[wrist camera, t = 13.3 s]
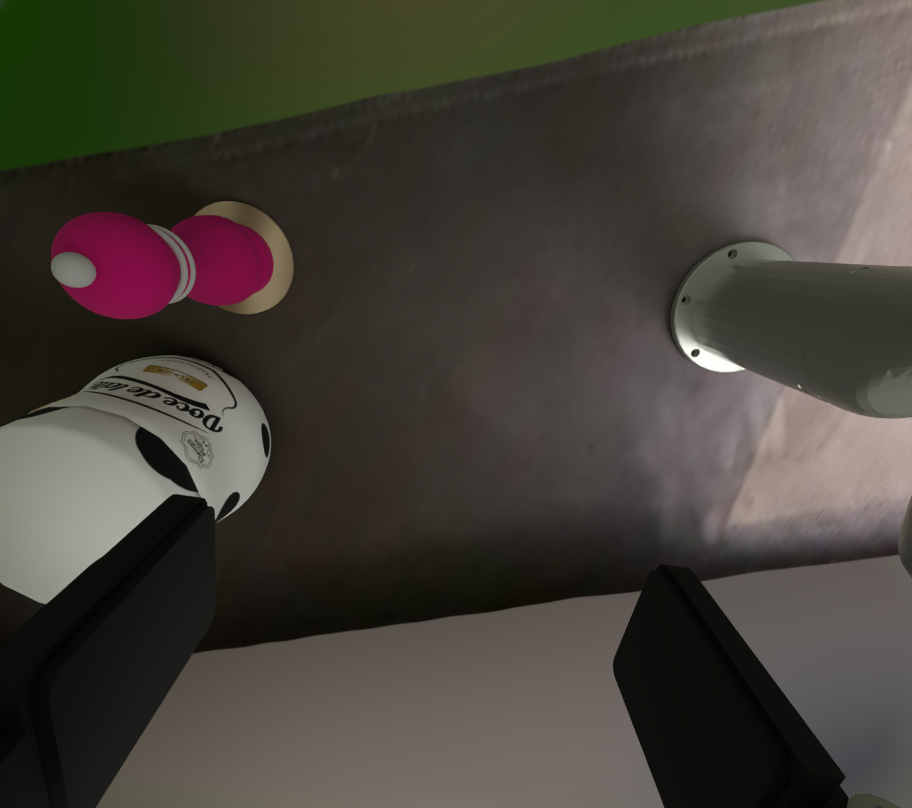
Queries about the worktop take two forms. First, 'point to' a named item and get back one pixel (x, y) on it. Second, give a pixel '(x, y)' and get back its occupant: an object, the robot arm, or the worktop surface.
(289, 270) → the plate
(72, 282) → the pepper mill
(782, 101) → the worktop surface
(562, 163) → the worktop surface
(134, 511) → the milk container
